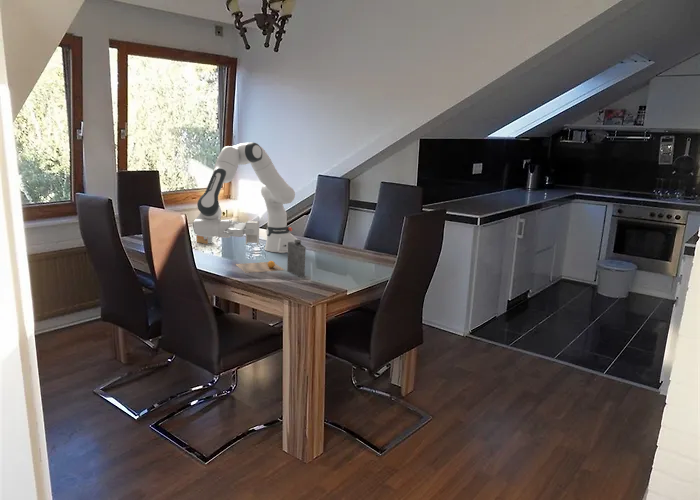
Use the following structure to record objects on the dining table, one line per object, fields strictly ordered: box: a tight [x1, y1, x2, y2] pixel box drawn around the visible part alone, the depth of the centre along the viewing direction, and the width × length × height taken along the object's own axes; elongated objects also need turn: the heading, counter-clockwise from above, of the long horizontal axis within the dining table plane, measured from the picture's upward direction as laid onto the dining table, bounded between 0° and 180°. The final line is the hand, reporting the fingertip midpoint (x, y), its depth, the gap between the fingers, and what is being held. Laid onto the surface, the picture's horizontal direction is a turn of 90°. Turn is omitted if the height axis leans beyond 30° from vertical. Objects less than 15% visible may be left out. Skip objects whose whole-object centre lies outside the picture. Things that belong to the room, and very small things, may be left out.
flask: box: [286, 239, 306, 278], centre depth 264 cm, size 4×14×18 cm, turn 35°
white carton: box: [245, 220, 260, 246], centre depth 272 cm, size 6×6×11 cm
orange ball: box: [267, 260, 276, 268], centre depth 274 cm, size 4×4×4 cm
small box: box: [195, 234, 214, 245], centre depth 328 cm, size 8×6×10 cm
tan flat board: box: [234, 261, 285, 274], centre depth 275 cm, size 20×18×1 cm
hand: (254, 230), depth 272 cm, fingers closed on white carton, 6 cm apart
